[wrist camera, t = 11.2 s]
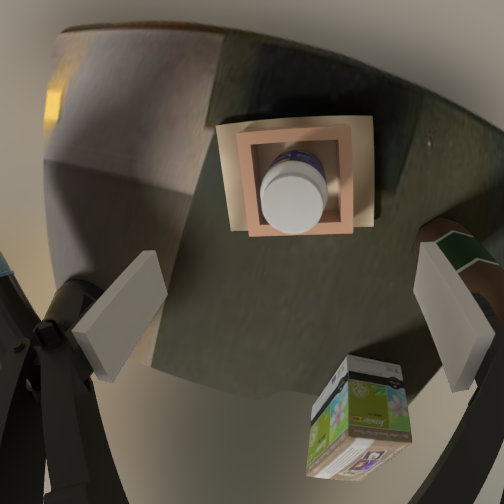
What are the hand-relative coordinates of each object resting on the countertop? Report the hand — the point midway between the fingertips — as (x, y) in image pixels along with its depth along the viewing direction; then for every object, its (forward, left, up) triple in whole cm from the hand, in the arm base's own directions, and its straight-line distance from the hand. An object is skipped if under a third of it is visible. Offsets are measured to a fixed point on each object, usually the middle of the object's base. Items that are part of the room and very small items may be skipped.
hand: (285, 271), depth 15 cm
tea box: (+8, -35, -21) cm, 42 cm away
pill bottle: (0, 0, -20) cm, 20 cm away
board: (0, 0, -20) cm, 21 cm away
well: (0, 0, -19) cm, 19 cm away
